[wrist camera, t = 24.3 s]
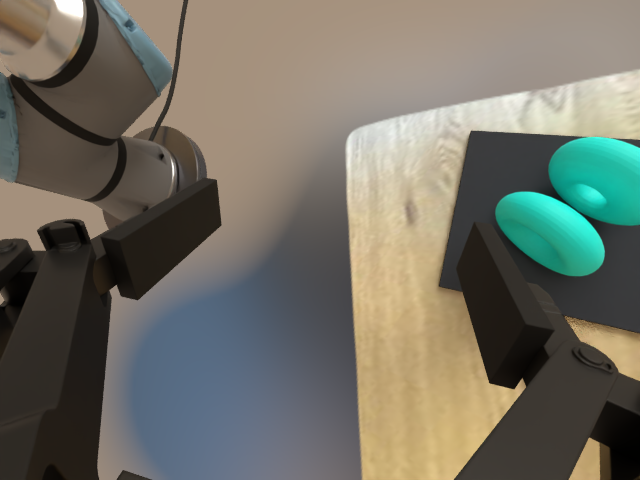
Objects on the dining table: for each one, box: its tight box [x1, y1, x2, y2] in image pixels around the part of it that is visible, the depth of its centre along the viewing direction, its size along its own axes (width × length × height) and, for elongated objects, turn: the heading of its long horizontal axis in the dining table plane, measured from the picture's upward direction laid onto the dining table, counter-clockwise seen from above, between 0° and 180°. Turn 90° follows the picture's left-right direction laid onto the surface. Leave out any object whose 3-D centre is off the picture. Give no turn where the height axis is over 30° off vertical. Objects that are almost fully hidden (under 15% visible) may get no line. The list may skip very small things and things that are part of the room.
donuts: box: [495, 137, 640, 276], centre depth 28 cm, size 10×10×10 cm
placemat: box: [439, 131, 640, 333], centre depth 33 cm, size 20×20×1 cm
